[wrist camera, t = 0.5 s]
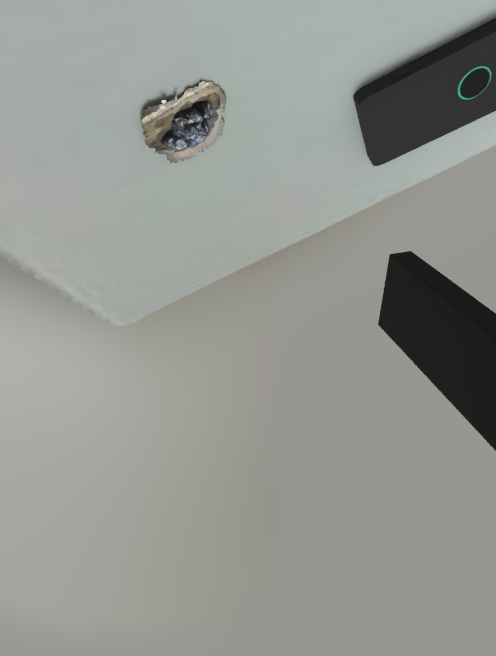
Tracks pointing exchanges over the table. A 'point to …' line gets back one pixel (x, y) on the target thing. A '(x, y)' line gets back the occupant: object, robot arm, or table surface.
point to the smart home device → (429, 96)
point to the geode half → (185, 122)
